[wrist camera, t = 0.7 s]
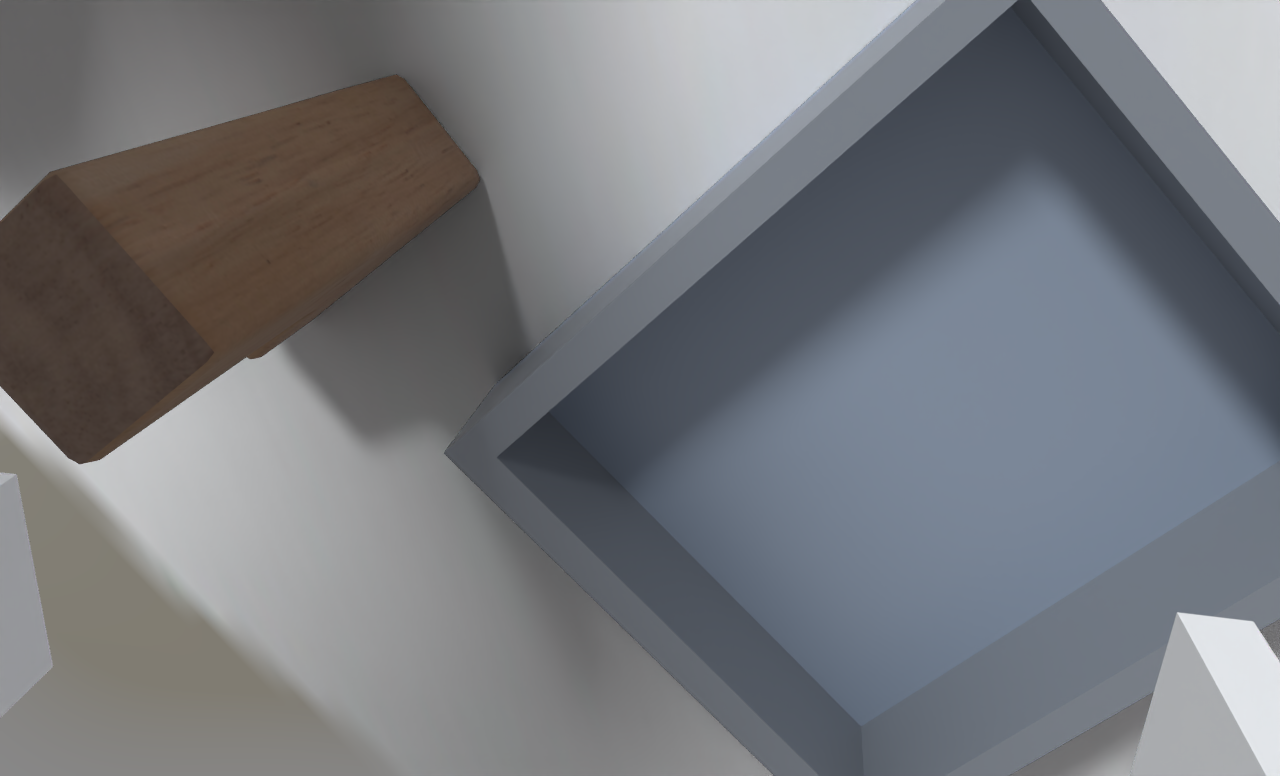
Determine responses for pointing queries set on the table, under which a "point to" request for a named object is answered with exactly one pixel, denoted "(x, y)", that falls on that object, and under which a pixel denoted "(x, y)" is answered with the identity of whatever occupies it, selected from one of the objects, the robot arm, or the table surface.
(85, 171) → the wooden block
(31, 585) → the robot arm
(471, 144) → the table surface
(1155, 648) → the open-top box
